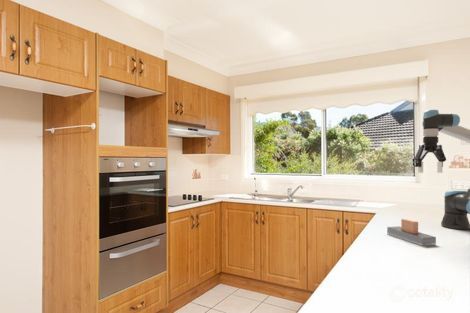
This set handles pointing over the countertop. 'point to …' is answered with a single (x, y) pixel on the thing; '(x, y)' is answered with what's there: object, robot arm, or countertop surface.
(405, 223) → the tall peach block
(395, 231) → the rail
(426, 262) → the countertop surface
